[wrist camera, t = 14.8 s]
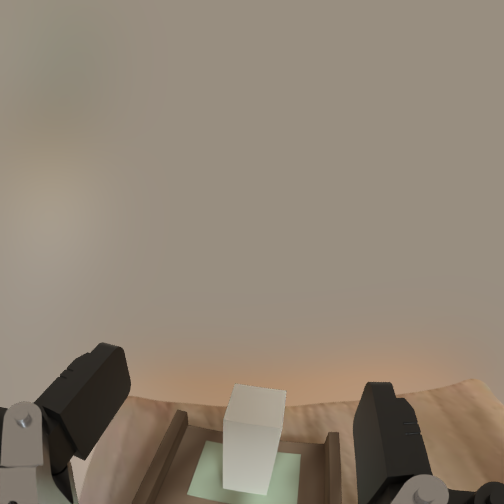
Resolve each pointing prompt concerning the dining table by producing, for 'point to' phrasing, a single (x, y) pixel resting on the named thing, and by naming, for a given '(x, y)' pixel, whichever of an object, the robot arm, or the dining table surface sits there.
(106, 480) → the dining table surface
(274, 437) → the block
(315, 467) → the channel
